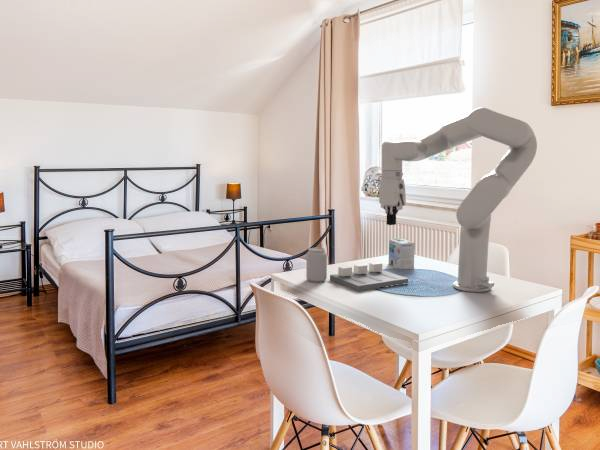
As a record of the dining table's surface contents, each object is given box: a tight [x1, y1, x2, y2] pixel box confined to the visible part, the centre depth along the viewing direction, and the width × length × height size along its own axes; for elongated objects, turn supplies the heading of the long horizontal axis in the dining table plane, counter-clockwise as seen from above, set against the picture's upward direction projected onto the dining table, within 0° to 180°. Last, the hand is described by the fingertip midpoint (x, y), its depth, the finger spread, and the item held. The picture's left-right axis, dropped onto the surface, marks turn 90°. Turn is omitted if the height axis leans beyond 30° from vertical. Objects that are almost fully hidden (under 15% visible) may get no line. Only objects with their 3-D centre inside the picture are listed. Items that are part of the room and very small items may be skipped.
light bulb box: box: [388, 238, 416, 270], centre depth 217 cm, size 11×7×11 cm, turn 17°
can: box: [305, 247, 328, 283], centre depth 192 cm, size 8×8×12 cm
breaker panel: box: [329, 261, 409, 293], centre depth 191 cm, size 18×22×5 cm
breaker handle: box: [353, 263, 368, 274], centre depth 195 cm, size 3×4×3 cm
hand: (391, 224), depth 195 cm, fingers closed
